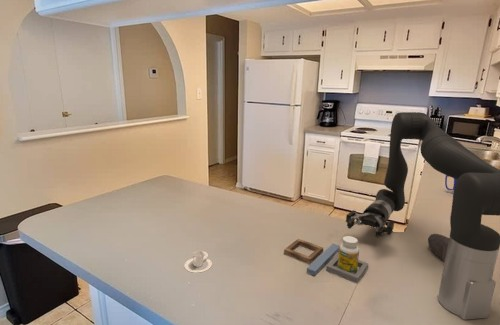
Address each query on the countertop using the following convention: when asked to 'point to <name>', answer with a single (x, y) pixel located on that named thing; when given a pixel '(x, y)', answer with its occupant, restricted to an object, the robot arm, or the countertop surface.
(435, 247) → the perforated stone tool
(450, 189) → the mug
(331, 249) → the door sill
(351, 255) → the supplement bottle
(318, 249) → the holder
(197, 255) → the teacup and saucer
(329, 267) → the holder open
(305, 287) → the countertop surface
